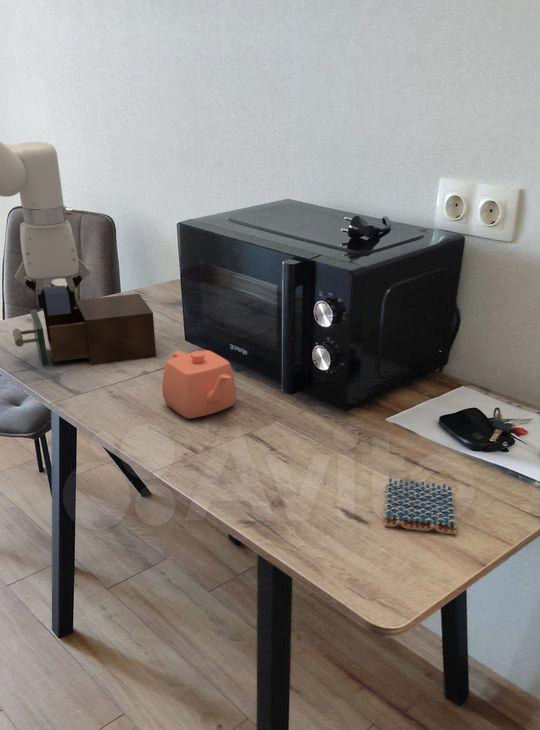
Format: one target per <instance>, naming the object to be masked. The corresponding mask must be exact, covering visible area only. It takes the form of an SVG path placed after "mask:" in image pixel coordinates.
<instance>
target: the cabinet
mask: <svg viewBox="0 0 540 730" xmlns="http://www.w3.org/2000/svg"><path fill="white" fill-rule="evenodd" d="M76 307H78V309H79V311H80V313H81V315H82V317H83V319H84V321H85V326H86V334H87V341H88V349H89V357H88V358H87V359H88V361H89V364H90V366H95V365H96V366H97V365H103V364H110V363H111V364H112V363H117V362H118V363H119V362H127V361H132V360H134V361H135V360H141V359H148V358H149V359H150V358H155V357H157V348H156V347H157V346H156V334H155V322H154V311H152V309H151V308H150V306H149V305H148V303H146V301H145V300H144V298H143V297H142V295H141V294H140V293H132V294H123V295H112V296H104V297H101V296H100V297H94V298H93V297H92V298H83V299H77V300H76Z"/></svg>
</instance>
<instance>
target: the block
mask: <svg viewBox="0 0 540 730" xmlns="http://www.w3.org/2000/svg"><path fill="white" fill-rule="evenodd" d="M42 289H43V291H44V294H45V299H46V305H47V312H48V316H51V315H61V314H70V313H71V310H70V303H69V295H68V291H67V289H66V287H65V285H64V286H53V287H49V286H42Z"/></svg>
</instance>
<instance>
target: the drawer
mask: <svg viewBox="0 0 540 730" xmlns="http://www.w3.org/2000/svg"><path fill="white" fill-rule="evenodd" d="M73 310H74V311H71V313H70V314H61V315H51V316H48V313H47V314H44V313H43V316H44V317H43V318H44V323H45V329H46V336H47V341H48V345H49V349H50V351H51V355H52V357H53V360H54V362H63V361H72V360H78V359H79V360H80V359H88V357H89V349H88V341H87V334H86V326H85V321H84V319H83V317H82V315H81V313H80V311H79V309H78V307H75V308H73ZM29 311H30V317H31V322H32V327H33V329H25V330H21V329H18V328H14V329H13V330H12V336H13V340H14V344H15V346H16V347H21V348H22V347H23V346H24V344H31V343H35V344H36V349H37V353H38V355H39V358H40V362H41V365H42V367H47V366H48V367H49V366H50V364H49V357H48V352H47V346H46V339H45V334H44V333H45V332H44V328H43V324H42V322H41V318H40V317H39V314H38V310H37V309H30V310H29ZM29 334H34V337H33V338H26V339H24V338H23V335H29Z"/></svg>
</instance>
